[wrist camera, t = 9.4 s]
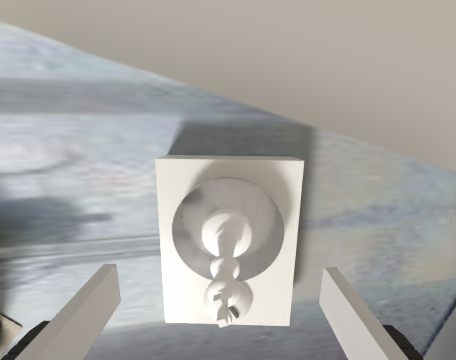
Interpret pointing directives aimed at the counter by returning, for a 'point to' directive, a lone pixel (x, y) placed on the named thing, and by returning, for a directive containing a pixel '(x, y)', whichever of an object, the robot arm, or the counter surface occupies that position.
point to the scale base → (249, 289)
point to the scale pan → (237, 200)
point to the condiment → (7, 332)
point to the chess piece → (225, 257)
